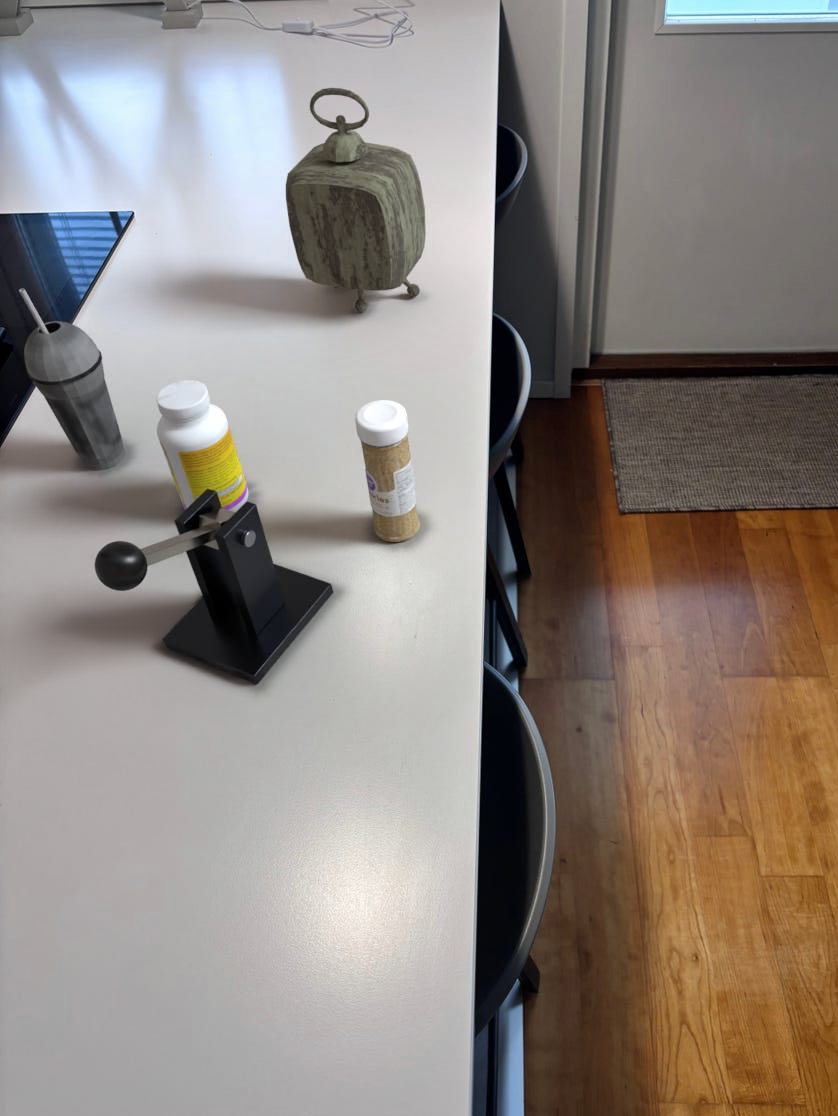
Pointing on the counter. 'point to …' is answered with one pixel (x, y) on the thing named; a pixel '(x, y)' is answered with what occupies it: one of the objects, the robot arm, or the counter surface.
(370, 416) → the sprinkles bottle
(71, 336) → the beverage cup
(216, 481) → the supplement bottle
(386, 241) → the tabletop clock
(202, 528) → the lever
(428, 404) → the counter surface
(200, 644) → the bracket
